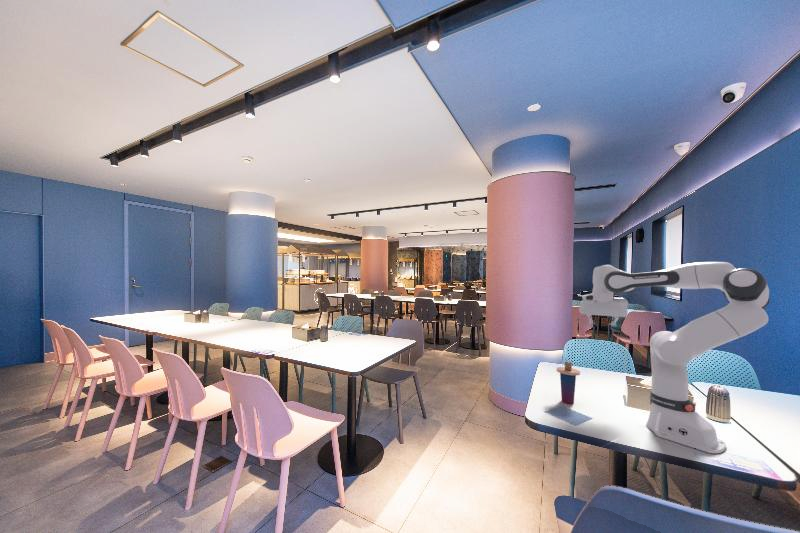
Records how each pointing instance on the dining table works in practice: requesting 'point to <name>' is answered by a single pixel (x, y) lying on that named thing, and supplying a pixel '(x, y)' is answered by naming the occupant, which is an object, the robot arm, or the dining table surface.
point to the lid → (568, 369)
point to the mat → (568, 415)
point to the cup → (567, 388)
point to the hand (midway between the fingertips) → (602, 324)
